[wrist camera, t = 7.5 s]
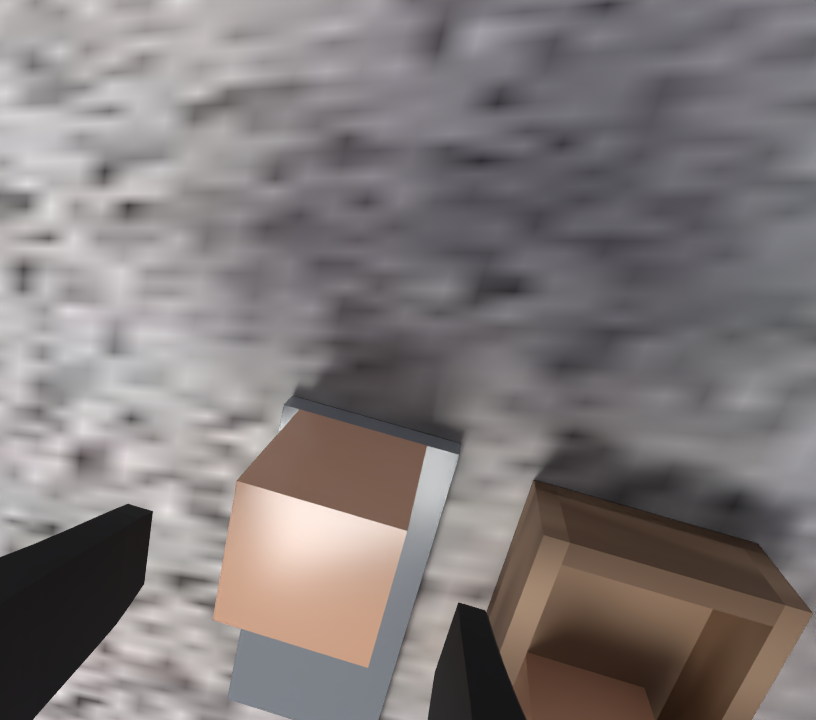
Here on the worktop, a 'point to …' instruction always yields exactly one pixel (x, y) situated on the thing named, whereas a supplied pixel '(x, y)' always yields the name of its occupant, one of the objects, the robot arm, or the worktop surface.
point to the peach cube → (576, 693)
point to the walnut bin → (645, 604)
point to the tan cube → (319, 536)
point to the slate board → (367, 687)
